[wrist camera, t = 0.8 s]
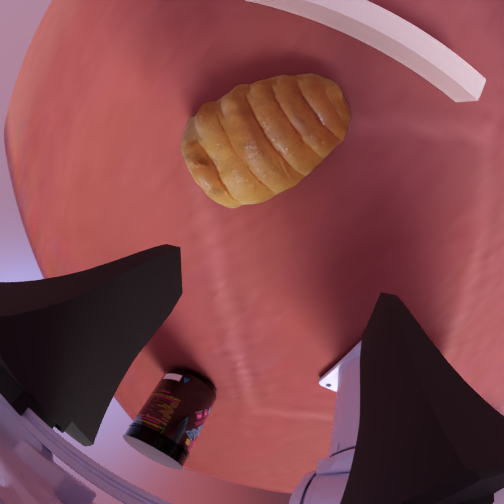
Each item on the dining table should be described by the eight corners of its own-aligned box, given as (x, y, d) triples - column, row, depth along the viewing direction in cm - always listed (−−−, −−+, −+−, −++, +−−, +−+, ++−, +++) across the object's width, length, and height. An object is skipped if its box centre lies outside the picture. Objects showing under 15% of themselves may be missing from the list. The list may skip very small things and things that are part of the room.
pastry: (314, 51, 12) (309, 32, 9) (369, 151, 14) (380, 159, 11) (187, 125, 17) (154, 129, 13) (237, 211, 18) (215, 233, 15)
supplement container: (187, 399, 32) (152, 461, 23) (156, 364, 30) (111, 429, 21) (229, 400, 29) (195, 474, 20) (198, 362, 27) (151, 442, 18)
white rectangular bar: (463, 84, 10) (486, 79, 8) (455, 102, 11) (477, 100, 8) (254, -17, 11) (238, -37, 8) (244, 0, 11) (227, -18, 9)
